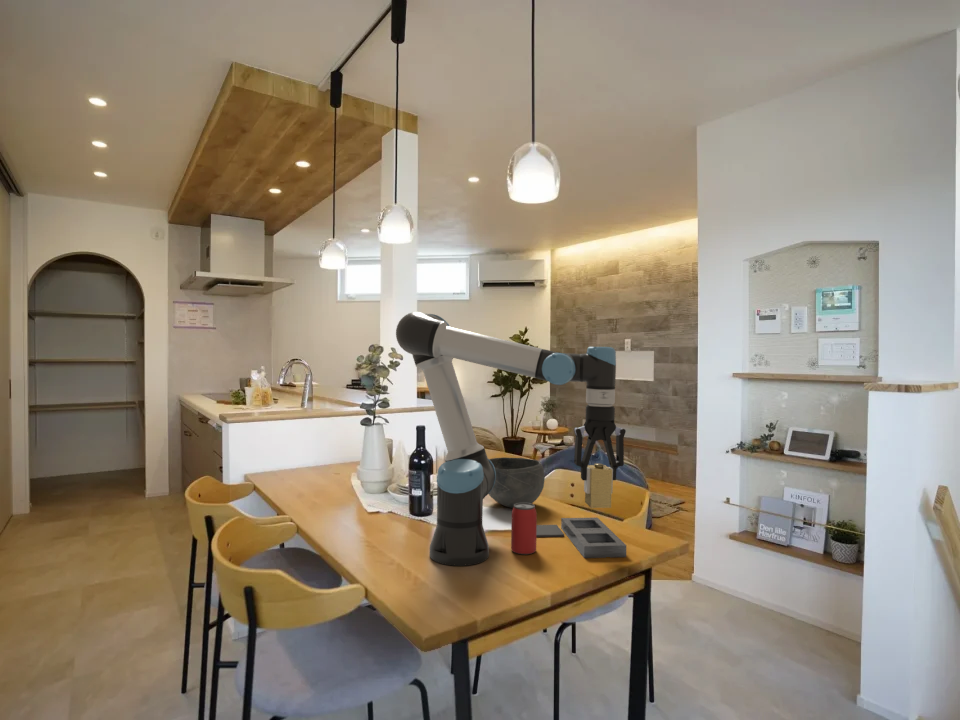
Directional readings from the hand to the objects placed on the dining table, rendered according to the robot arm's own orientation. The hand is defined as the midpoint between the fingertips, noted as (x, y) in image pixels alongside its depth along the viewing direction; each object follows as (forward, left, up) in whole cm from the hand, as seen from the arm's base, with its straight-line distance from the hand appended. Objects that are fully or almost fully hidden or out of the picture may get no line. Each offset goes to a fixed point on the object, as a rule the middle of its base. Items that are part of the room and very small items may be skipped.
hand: (598, 492), depth 147 cm
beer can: (-20, 0, -15) cm, 25 cm away
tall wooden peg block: (0, 0, -3) cm, 3 cm away
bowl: (-16, +43, -15) cm, 48 cm away
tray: (0, +6, -15) cm, 16 cm away
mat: (-11, +15, -15) cm, 24 cm away
